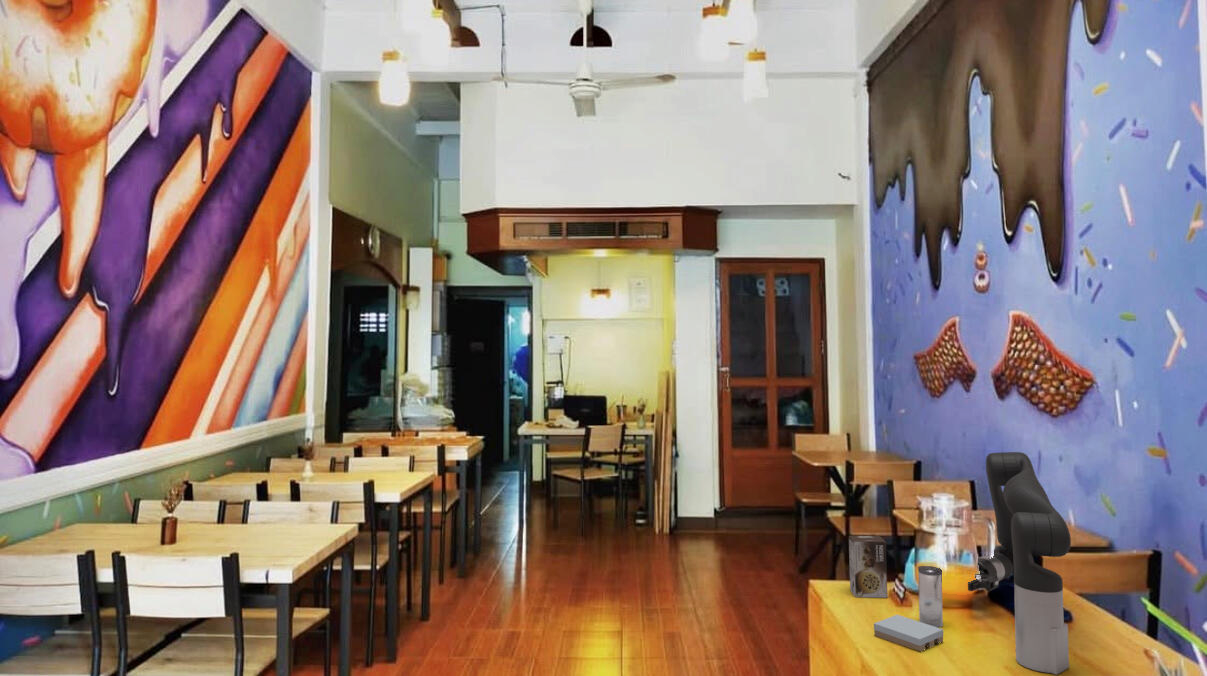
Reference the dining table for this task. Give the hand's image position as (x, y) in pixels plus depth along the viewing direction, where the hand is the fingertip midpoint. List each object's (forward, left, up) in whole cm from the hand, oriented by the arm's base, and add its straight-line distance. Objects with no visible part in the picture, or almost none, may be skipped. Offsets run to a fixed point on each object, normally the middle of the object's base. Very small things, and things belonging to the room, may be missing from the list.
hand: (953, 582), depth 185 cm
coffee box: (+23, +4, -9) cm, 25 cm away
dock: (-2, +25, -8) cm, 26 cm away
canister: (0, +11, -8) cm, 14 cm away
